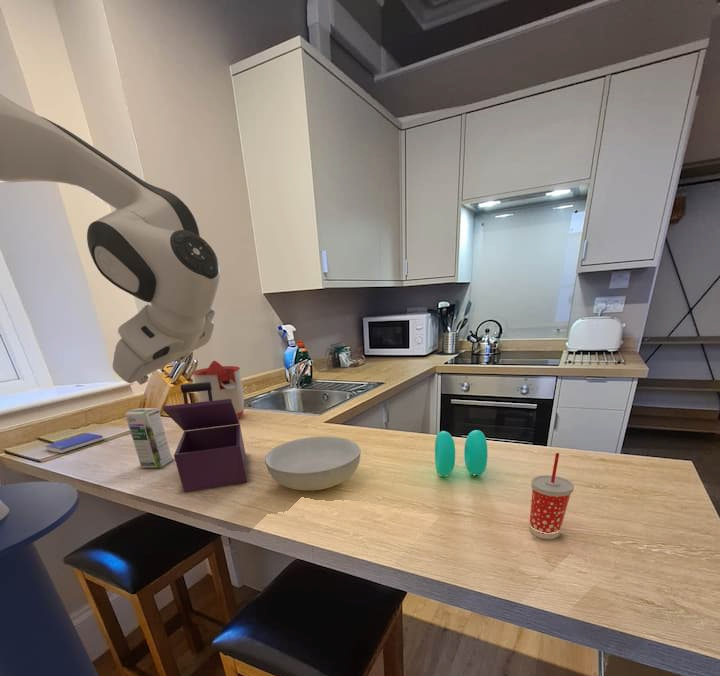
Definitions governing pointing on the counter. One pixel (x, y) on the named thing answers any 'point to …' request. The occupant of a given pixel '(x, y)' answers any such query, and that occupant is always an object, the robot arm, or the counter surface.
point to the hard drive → (74, 443)
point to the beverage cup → (549, 503)
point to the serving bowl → (313, 462)
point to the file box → (211, 458)
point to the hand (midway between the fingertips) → (160, 370)
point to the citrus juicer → (222, 384)
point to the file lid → (202, 410)
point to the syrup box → (149, 437)
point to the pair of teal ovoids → (472, 453)
